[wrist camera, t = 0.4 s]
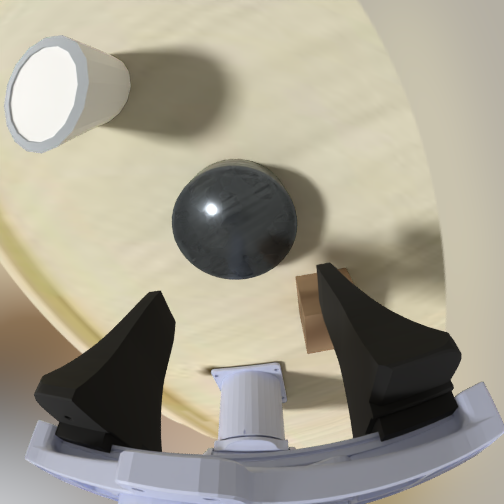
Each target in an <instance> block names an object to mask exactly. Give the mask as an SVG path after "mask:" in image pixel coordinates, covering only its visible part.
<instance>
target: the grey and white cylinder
mask: <svg viewBox="0 0 504 504" xmlns="http://www.w3.org/2000/svg"><path fill="white" fill-rule="evenodd" d="M130 88H131V83H130V75H129V71H128V69H127V68H126V66H125V65H124V63H123V62H122V61H121V60H119V59H117V58H115V57H113V56H112V55H109V54H107V53H105V52H103V51H100V50H98V49H96V48H93V47H91V46H89V45H86V44H84V43H81V42H79V41H76V40H74V39H71V38H68V37H66V36H63V35H61V36H53V37H46V38H44V39H42V40H41V41H39V42H38V43H36V44H35V45H33V46H32V47H30V48H29V49H28V50H27V51H26V53H25V54H24V55H23V56H22V58H21V59H20V60H19V61H18V63H17V64H16V66H15V68H14V70H13V72H12V75H11V77H10V80H9V82H8V84H7V90H6V97H5V104H4V108H5V116H6V123H7V127H8V129H9V131H10V133H11V135H12V137H13V139H14V141H15V142H16V143H17V144H19V145H20V146H21V147H22V148H23V149H25V150H26V151H29V152H36V153H44V152H46V151H48V150H51V149H53V148H56V147H58V146H60V145H62V144H64V143H65V142H67V141H69V140H71V139H73V138H75V137H77V136H79V135H81V134H83V133H85V132H87V131H89V130H91V129H94V128H96V127H98V126H100V125H102V124H105V123H107V122H109V121H110V120H112V119H113V118H114V117H115V116H116V115H118V114H119V113H120V112H121V110H122V108H123V107H124V105H125V103H126V102H127V100H128V96H129V92H130Z"/></svg>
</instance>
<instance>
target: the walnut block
mask: <svg viewBox="0 0 504 504" xmlns="http://www.w3.org/2000/svg"><path fill="white" fill-rule="evenodd" d="M338 270H339V271H340V272H341V273H342V274H343V275H344V276H345V277H346V278H347V279H348V280H349V281H350V282H352V283H353V281H352V279H351V277H350V275H349V273H348V271H347V269H346V268H342V269H338ZM296 285H297V294H298V303H299V312H300V318H301V323H302V328H303V333H304V338H305V343H306V349H307V354H310V353H315V352H321V351H326V350H331V349H334V347H333V344H332V341H331V339H330V336H329V333H328V330H327V328H326V325H325V322H324V319H323V315H322V311H321V307H320V303H319V293H318V279H317V273H314V274H308V275H302V276H296Z"/></svg>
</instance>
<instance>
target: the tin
mask: <svg viewBox="0 0 504 504" xmlns="http://www.w3.org/2000/svg"><path fill="white" fill-rule="evenodd" d="M172 229H173V234H174V238H175V241H176V243H177V245H178V247H179V249H180V251H181V252H182V253H183V255H184V256H185V257H186V258H187V259H188V260H189V261H190V262H191V263H192V264H193V265H194V266H195V267H197V268H198V269H200V270H202V271H203V272H205V273H207V274H210V275H212V276H215V277H219V278H223V279H236V280H239V279H248V278H252V277H256V276H259V275H261V274H264V273H266V272H268V271H269V270H271V269H273V268H274V267H275V266H277V265H278V264H279V263H280V262H281V261H282V260H283V259H284V258H285V256H286V255H287V254H288V253H289V251H290V249H291V247H292V245H293V243H294V240H295V236H296V232H297V216H296V211H295V208H294V205H293V202H292V200H291V198H290V196H289V194H288V193H287V191H286V190H285V188H284V187H283V185H282V183H281V182H280V180H279V179H278V178H277V177H276V176H275V175H274V174H273V173H272V172H271V171H270V170H268V169H267V168H265V167H264V166H262V165H260V164H257V163H255V162H252V161H248V160H242V159H229V160H223V161H219V162H216V163H214V164H211V165H209V166H208V167H206V168H204V169H203V170H202V171H200V172H199V173H198V174H197V175H196V176H195V177H194V178H193V179H192V180H191V181H190V182H189V183H188V184H187V185H186V186H185V188H184V189H183V190H182V192H181V193H180V195H179V197H178V199H177V201H176V203H175V206H174V209H173V215H172Z"/></svg>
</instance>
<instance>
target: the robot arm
mask: <svg viewBox="0 0 504 504" xmlns="http://www.w3.org/2000/svg"><path fill="white" fill-rule="evenodd" d="M316 267H317V279H318V293H319V303H320V307H321V311H322V315H323V319H324V322H325V325H326V328H327V330H328V333H329V336H330V339H331V341H332V344H333V347H334V350H335V352H336V355H337V358H338V361H339V365H340V369H341V373H342V378H343V382H344V387H345V392H346V397H347V402H348V408H349V414H350V420H351V426H352V434H353V439H349V440H344V441H340V442H335V443H330V444H325V445H320V446H314V447H308V448H302V449H296V448H295V447H289V448H288V440H285V433H284V421H283V409H282V403H285V402H287V396H286V391H285V386H284V381H283V376H282V371H281V366H280V364H279V363H268V364H260V365H252V366H243V367H232V368H221V369H213V370H212V371H211V374H212V376H213V378H214V379H215V381H216V383H217V385H218V387H219V389H220V391H221V402H220V417H219V433H218V441H215V443H214V448H208V449H207V451H205V452H204V453H203V455H199V454H179V453H166V452H162V447H161V404H162V393H163V384H164V379H165V374H166V370H167V366H168V362H169V358H170V354H171V350H172V346H173V341H174V334H175V323H176V322H175V320H174V318H173V316H172V314H171V311H170V309H169V307H168V305H167V303H166V301H165V299H164V297H163V295H162V293H161V291H154V292H149V293H148V294H147V295H146V296H145V297H144V298H142V300H141V301H140V302H139V303H138V304H137V305H136V306H135V307H134V308H133V309H132V310H131V311H130V312H129V313H128V314H127V315H126V316H125V317H124V318H123V319H122V320H121V321H120V322H119V323H118V324H117V325H116V326H115V327H114V328H113V329H112V330H111V331H110V332H109V333H108V334H107V335H106V336H105V337H104V338H103V339H101V340H100V341H99V342H98V343H97V344H95V345H94V346H93V347H92V348H90V349H89V350H87V351H86V352H85V353H83V354H82V355H81V356H79V357H78V358H76V359H74V360H73V361H71V362H70V363H68V364H66V365H64V366H63V367H61V368H59V369H57V370H55V371H52V372H51V373H48V374H46V375H44V376H43V377H42V379H41V381H40V383H39V385H38V387H37V389H36V391H35V394H34V396H35V399H36V401H37V402H38V403H39V405H40V406H41V407H42V408H44V409H45V410H46V411H47V412H48V413H49V414H51V415H52V416H53V417H54V418H55V419H56V420H57V421H59V425H58V427H57V426H55V425H54V424H51V423H48V422H45V421H42V420H38V422H37V424H36V427H35V430H34V432H33V435H32V438H31V441H30V444H29V446H28V449H27V452H26V455H25V459H26V460H27V461H29V462H31V463H32V464H34V465H35V466H37V467H38V468H40V469H42V470H44V471H45V472H47V473H49V474H51V475H52V476H54V477H56V478H58V479H60V480H62V481H64V482H67V483H69V484H72V485H74V486H76V487H79V488H81V489H84V490H86V491H89V492H92V493H94V494H97V495H100V496H103V497H106V498H109V499H112V500H115V501H118V504H366V503H369V502H373V501H376V500H379V499H382V498H385V497H388V496H391V495H393V494H396V493H399V492H402V491H404V490H407V489H409V488H412V487H414V486H417V485H419V484H421V483H424V482H426V481H428V480H430V479H432V478H435V477H436V476H439V475H441V474H443V473H445V472H447V471H449V470H451V469H453V468H455V467H457V466H458V465H460V464H462V463H464V462H466V461H467V460H469V459H471V458H473V457H474V456H476V455H477V454H479V453H480V452H482V451H483V450H484V449H485V448H487V447H488V446H489V445H490V444H492V443H493V442H494V441H495V440H497V439H498V438H499V437H500V436H501V435H503V434H504V424H503V421H502V419H501V417H500V415H499V412H498V410H497V408H496V406H495V404H494V402H493V400H492V398H491V396H490V393H489V392H488V390H487V388H486V386H485V384H484V382H480V383H478V384H476V385H474V386H472V387H470V388H468V389H466V390H464V391H462V392H460V393H459V394H458V395H457V396H455V397H454V396H453V394H452V390H453V389H454V387H453V384H452V382H451V378H452V376H453V375H454V373H455V371H456V369H457V367H458V366H459V363H460V361H461V352H460V351H459V349H458V347H457V345H456V343H455V342H454V340H453V339H452V337H451V336H450V335H449V333H447V332H444V331H440V330H437V329H433V328H430V327H427V326H424V325H421V324H419V323H416V322H414V321H411V320H409V319H407V318H405V317H403V316H401V315H399V314H397V313H394V312H393V311H391V310H389V309H387V308H386V307H384V306H382V305H381V304H379V303H378V302H376V301H374V300H373V299H372V298H370V297H369V296H368V295H366V294H365V293H364V292H362V291H361V290H360V289H359V288H358V287H356V286H355V285H354V284H353V283H352V282H350V281H349V280H348V279H347V278H346V277H345V276H344V275H343V274H342V273H341V272H340V271H339V270H338V269H337V268H336V267H334V266H333V265H332V264H331V263H325V264H319V265H316Z"/></svg>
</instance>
